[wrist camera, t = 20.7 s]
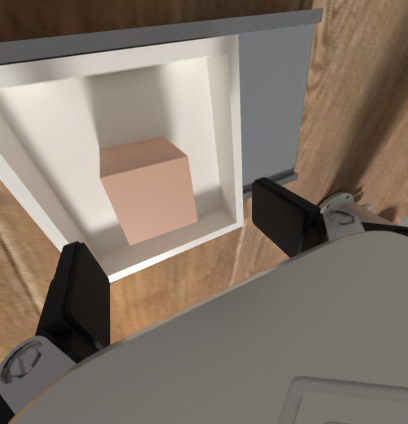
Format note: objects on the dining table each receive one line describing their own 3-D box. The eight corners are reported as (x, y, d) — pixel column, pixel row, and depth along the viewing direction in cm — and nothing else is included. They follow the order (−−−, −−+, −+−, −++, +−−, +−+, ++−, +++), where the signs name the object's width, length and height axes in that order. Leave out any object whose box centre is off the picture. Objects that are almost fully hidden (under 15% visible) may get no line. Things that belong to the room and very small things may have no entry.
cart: (195, 49, 18) (238, 34, 12) (214, 197, 27) (243, 225, 21) (-13, 79, 14) (-85, 77, 8) (93, 241, 23) (92, 290, 17)
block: (162, 136, 16) (187, 155, 12) (174, 188, 19) (197, 221, 15) (99, 149, 15) (99, 178, 10) (121, 204, 18) (129, 245, 13)
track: (308, 13, 21) (323, 8, 20) (288, 175, 32) (296, 179, 31) (-72, 55, 13) (-92, 52, 11) (78, 254, 24) (77, 264, 23)
